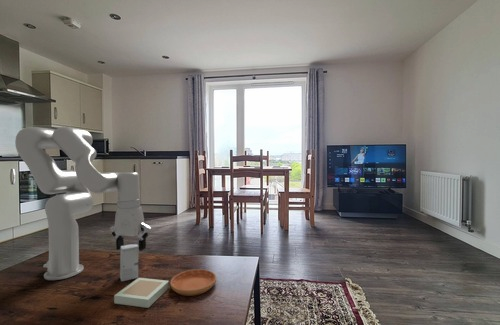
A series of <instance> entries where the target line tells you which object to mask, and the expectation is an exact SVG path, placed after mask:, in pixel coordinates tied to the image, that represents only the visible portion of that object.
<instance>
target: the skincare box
mask: <svg viewBox="0 0 500 325" xmlns="http://www.w3.org/2000/svg"><path fill="white" fill-rule="evenodd" d="M119 250H120V252H119V253H120V254H119V255H120V256H119V257H120V259H119V262H120V263H119V278H120V282H125V281H130V280H134V279H135V280H136V279H138V278H139V255H140V253H139V252H140V251H139V244H137V243H133V244H132V243H131V244H125V245H124V246H121V247H120V249H119Z"/></svg>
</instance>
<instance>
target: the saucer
mask: <svg viewBox="0 0 500 325" xmlns="http://www.w3.org/2000/svg"><path fill="white" fill-rule="evenodd" d="M216 282H217V275H216V274H215V272H213V271H211V270H209V269H203V268H199V269H198V268H197V269H195V268H194V269H189V270H185V271H182V272H179V273H177V274H176V275H173V277H172V278H171V280H170V281H169V286H170V288H171V290H173V291H174V292H175V293H177V294H178V295H180V296H183V297H184V296H186V297H193V296H199V295H202V294H204V293H206V292H208V291H210V290H211V288H213V286H215V284H216Z"/></svg>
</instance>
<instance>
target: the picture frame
mask: <svg viewBox="0 0 500 325" xmlns="http://www.w3.org/2000/svg"><path fill="white" fill-rule="evenodd" d="M169 289H170V281H169V280H166V279H165V280H164V279H155V278H146V277H138V278H135V280H133V281H132V282H131V283H129V284H128V285H126V286H125V287H124V288H123V289H120V291H118V292H117V293H116V294H114V295H113V300H114V302H113V304H116V305H122V306H123V305H124V306H125V305H126V306H133V307H140V308H146V309H147V308H148V309H149V308H150V307H151V306H152V305H153V304H154V303H155V302H157V300H158V299H159V298H161V296H162V295H163V294H164V293H165V292H167V291H168V290H169Z"/></svg>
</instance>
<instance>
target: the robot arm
mask: <svg viewBox="0 0 500 325" xmlns="http://www.w3.org/2000/svg"><path fill="white" fill-rule="evenodd" d="M14 141H15V144H14V145H15V150H16V151H17V153H18V155H19V157H20V158H21V159H22V161H23V162H24V163H25V165H26V166H27V168H28V170H29V172H30V174H31V176H32V177H33V179H34V181H35V184H36V185H37V187H38V189H39V190H40V192H41V193H43V194H45V195H53V196H51V197H50V198H48V199H47V201H46V203H45V205H44V212H45V216H46V219H47V220H46V221H47V225H48V226H47V227H48V260H47V261H46V263H44V264H43V265H42V267H43V268H47V271H46V272H45V273H44V274H43V278H44V279H45V280H46V281H58V280H64V279H68V278H71V277H73V276H76V275H78V274H80V273H82V272H83V271H84V268H85V267H84V265H83V264H80V252H79V251H80V250H79V248H80V246H79V245H80V244H79V243H80V242H79V240H80V239H79V238H80V236H79V234H80V233H79V231H80V230H79V224H78V222H77V220H76V218H75V217H74V216H77V215H81V214H85V213H88V212H89V211H91V210H92V209H93V206H94V198H93V195H92V193H94V194H97V195H98V194H99V195H101V194H106V193H114V192H117V196H118V197H117V200H118V201H116V205H117V206H118V208H116V211H115V217H114V224H112V226H110V227H109V230H110V232H111V236H113V238H114V240H115V246H116V248H115V250H117V251H119V250H121V249H120V247H121V246H125V245H124V243H125V242H124V237H127V236H128V237H134V236H135V237H136V236H137V237H138V239H139V240H138V246H139V252H142V251H143V250H145V249H146V248H147V238H148V236H150V233H151V231H152V227H151V226H150V225H148V224H146V223H145V215H144V211H143V207H142V206H141V190H140V174H139V173H138V172H134V171H132V172H131V171H129V172H120V171H119V172H117V171H113V172H112V171H111V172H100V171H98V170H97V169H96V167H94V165H93V164H92V162H93V161H94V159H96V157H97V150H96V149H95V148H94V147H93V146H92V144H93V136H92V134H91V133H90V132H89V131H88V130H86V129H82V128H78V127H72V126H71V127H70V126H61V127H58V128H56V129H53V128H47V127H40V126H39V127H38V126H29V127H24V128H22V129H20V130H19V131H18V132H17V134H16V136H15V140H14ZM45 150H58V151H59V150H61V151H62V152H63V153H64V154H65V155H66V156H67V157H68V158H69V159H70V160H71V161H72V162H73V163H74V170H72V169H60V168H59V167H58V165H57V163H56V161H55V160H54V158H53V157H52V156H51V155H50V154H49V153H48V152H46V151H45ZM91 192H92V193H91ZM56 194H57V195H56Z"/></svg>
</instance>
